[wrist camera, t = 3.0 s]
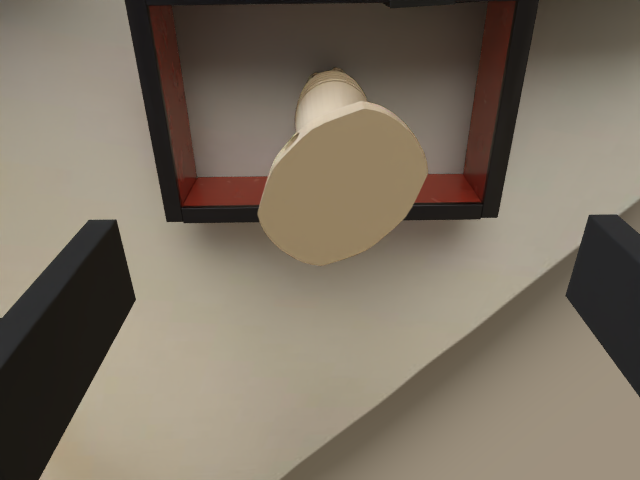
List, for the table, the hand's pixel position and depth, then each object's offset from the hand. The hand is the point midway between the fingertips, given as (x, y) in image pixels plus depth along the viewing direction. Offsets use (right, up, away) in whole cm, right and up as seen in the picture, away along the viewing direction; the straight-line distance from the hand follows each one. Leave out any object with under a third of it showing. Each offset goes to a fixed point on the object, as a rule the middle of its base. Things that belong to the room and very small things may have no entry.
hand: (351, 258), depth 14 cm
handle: (0, +10, +17) cm, 19 cm away
